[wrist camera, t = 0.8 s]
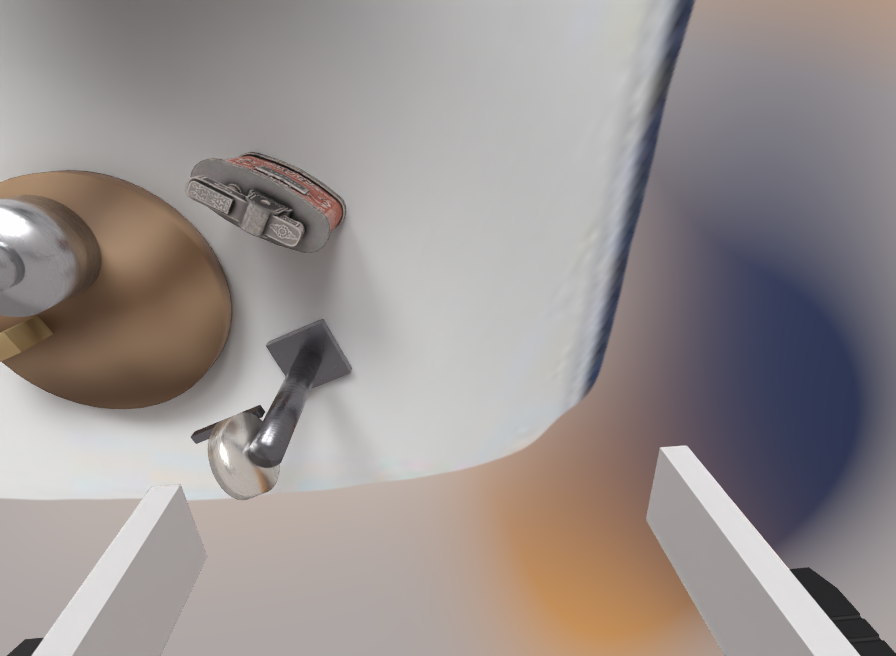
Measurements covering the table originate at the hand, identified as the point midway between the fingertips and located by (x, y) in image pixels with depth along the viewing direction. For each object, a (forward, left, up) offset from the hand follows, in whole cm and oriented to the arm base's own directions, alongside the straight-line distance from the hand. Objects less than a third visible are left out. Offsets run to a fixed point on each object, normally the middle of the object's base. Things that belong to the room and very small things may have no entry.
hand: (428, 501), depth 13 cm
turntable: (-7, -23, -25) cm, 35 cm away
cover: (-12, -23, -23) cm, 34 cm away
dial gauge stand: (+4, -13, -25) cm, 29 cm away
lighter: (-8, -6, -26) cm, 28 cm away
